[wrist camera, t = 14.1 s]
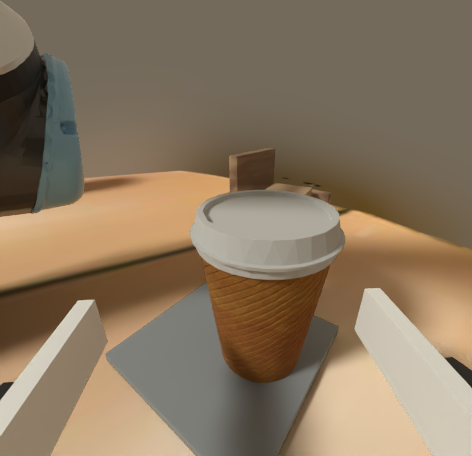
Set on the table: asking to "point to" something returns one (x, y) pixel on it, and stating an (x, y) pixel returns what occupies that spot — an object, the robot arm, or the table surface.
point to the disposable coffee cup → (265, 274)
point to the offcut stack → (291, 188)
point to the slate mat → (215, 381)
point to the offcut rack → (258, 172)
